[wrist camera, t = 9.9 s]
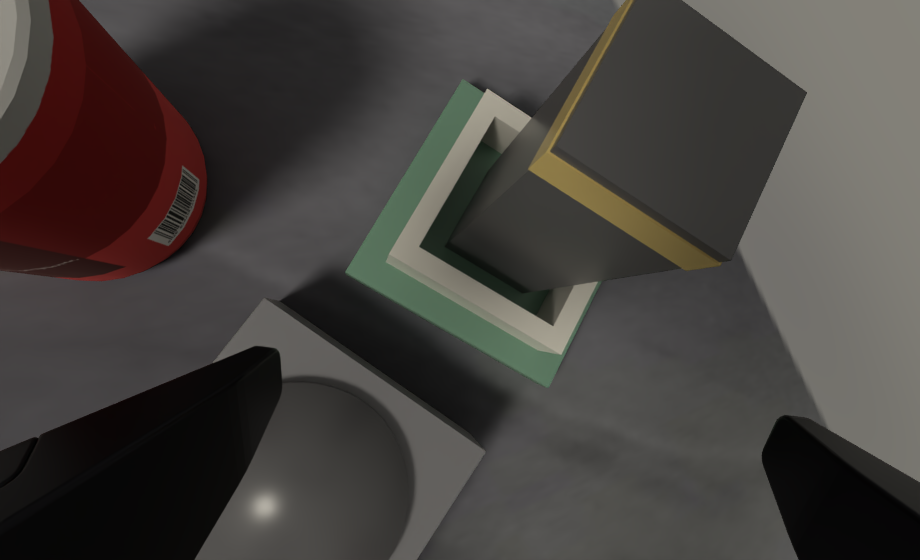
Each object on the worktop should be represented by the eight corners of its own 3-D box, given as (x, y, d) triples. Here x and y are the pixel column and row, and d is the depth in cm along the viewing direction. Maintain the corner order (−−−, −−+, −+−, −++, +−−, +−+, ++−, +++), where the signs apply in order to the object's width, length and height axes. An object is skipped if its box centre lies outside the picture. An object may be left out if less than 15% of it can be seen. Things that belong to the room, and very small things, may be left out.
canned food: (178, 69, 20) (-45, -232, 9) (241, 248, 20) (92, 163, 9) (-30, 114, 18) (-612, -186, 7) (37, 310, 18) (-451, 298, 7)
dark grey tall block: (523, 294, 21) (732, 264, 9) (442, 246, 20) (552, 146, 8) (570, 205, 21) (819, 69, 10) (494, 157, 21) (661, -50, 9)
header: (538, 384, 22) (572, 397, 18) (346, 274, 20) (342, 265, 17) (629, 203, 23) (678, 182, 20) (457, 91, 22) (475, 47, 18)
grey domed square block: (330, 645, 19) (322, 714, 16) (112, 513, 18) (54, 558, 15) (469, 432, 21) (488, 454, 18) (279, 300, 20) (262, 297, 16)
